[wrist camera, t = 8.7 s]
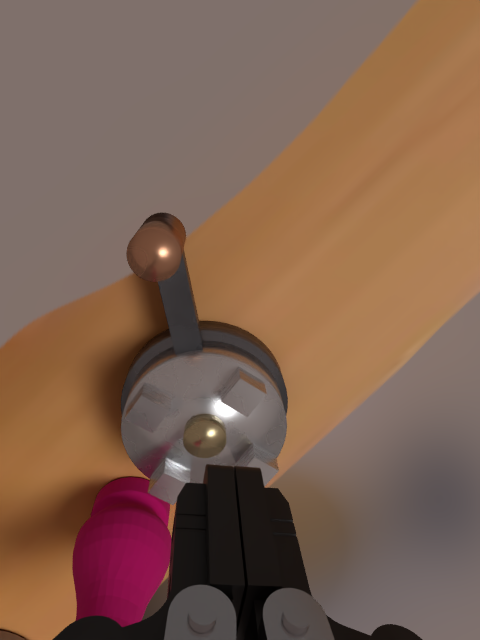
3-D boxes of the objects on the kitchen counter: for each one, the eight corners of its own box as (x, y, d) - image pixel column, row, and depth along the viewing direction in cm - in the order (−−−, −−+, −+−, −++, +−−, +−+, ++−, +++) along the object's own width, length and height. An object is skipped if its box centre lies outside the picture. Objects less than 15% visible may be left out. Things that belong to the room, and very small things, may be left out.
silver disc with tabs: (218, 479, 37) (218, 497, 35) (94, 406, 34) (87, 421, 32) (315, 380, 34) (321, 394, 32) (190, 288, 31) (188, 298, 29)
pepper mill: (118, 457, 36) (20, 801, 17) (192, 495, 38) (175, 840, 19) (73, 513, 38) (-57, 877, 19) (146, 547, 40) (91, 904, 21)
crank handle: (289, 457, 34) (304, 517, 29) (148, 480, 34) (136, 545, 29) (251, 194, 26) (262, 209, 21) (69, 226, 26) (32, 249, 21)
